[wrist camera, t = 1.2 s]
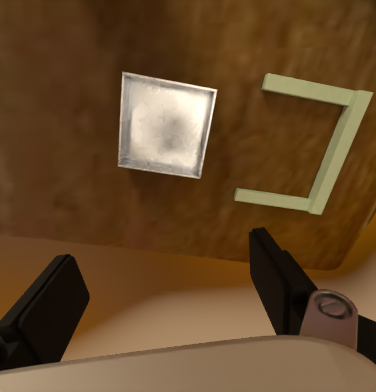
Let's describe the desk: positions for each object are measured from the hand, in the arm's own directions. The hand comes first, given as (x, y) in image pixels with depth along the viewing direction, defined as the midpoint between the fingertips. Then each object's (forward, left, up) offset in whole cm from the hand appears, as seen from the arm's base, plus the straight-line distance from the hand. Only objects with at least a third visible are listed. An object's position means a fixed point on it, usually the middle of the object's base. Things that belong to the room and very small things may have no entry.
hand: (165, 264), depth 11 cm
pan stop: (-5, +18, -24) cm, 31 cm away
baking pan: (-5, -2, -24) cm, 25 cm away
